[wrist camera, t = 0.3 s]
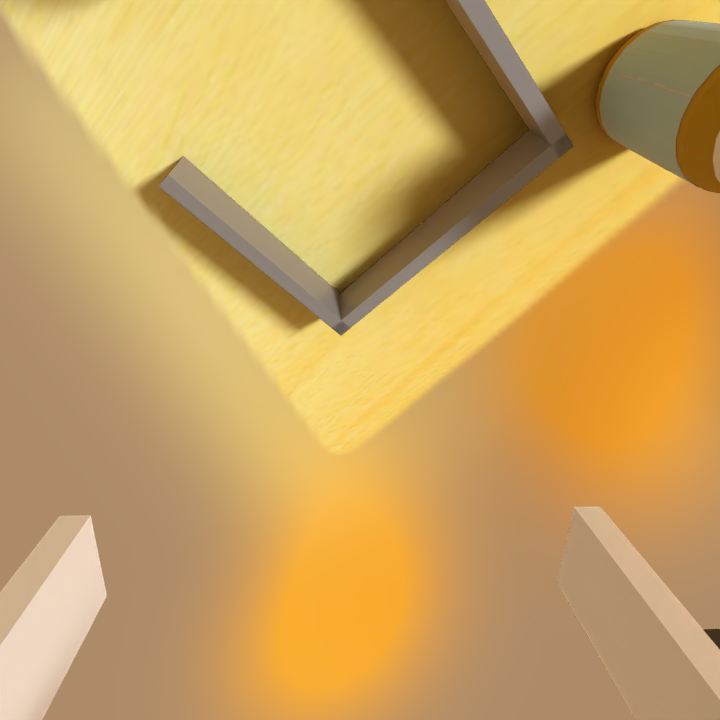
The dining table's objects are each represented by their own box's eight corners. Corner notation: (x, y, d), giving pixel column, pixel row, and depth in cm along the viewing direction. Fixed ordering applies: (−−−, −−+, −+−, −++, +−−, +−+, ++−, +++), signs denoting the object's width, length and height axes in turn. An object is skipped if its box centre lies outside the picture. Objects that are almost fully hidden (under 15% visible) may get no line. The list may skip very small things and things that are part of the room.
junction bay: (397, -112, 25) (408, -125, 22) (549, 130, 32) (573, 145, 29) (174, 166, 33) (158, 186, 29) (339, 308, 40) (340, 335, 37)
